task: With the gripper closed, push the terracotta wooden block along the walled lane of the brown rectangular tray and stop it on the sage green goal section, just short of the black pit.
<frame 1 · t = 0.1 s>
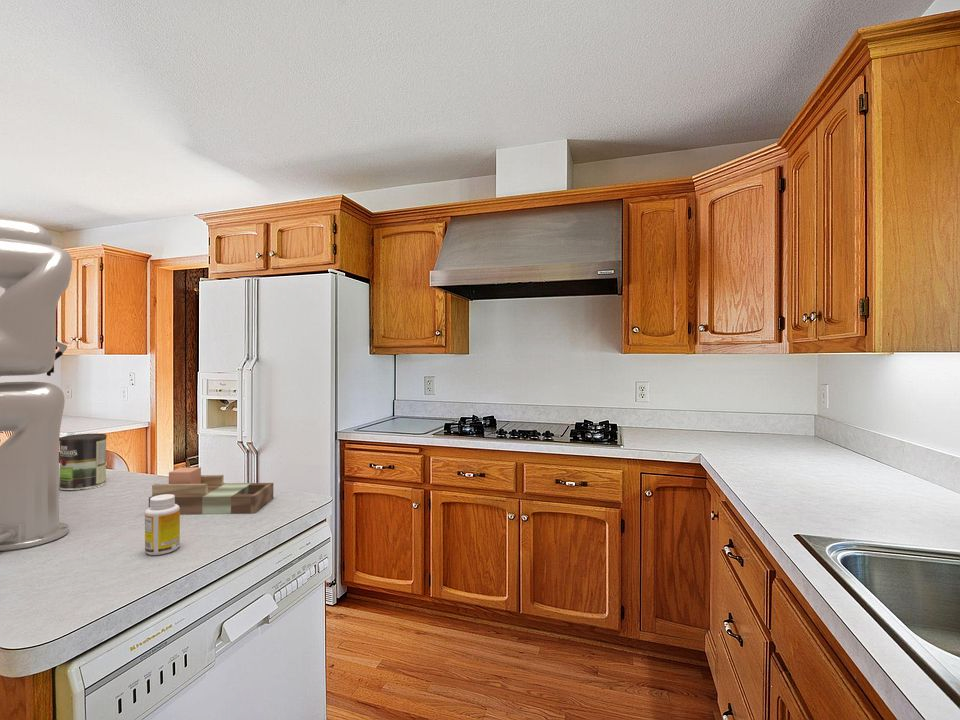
hand: (24, 376, 129), 31 cm above the countertop, tool pointing down, fingers open, 9 cm apart
block: (185, 490, 118), point 4 cm above the countertop, touching brown rectangular tray
brown rectangular tray: (214, 506, 118), on the countertop
coffee can: (83, 486, 135), on the countertop
supplement bottle: (162, 551, 92), on the countertop
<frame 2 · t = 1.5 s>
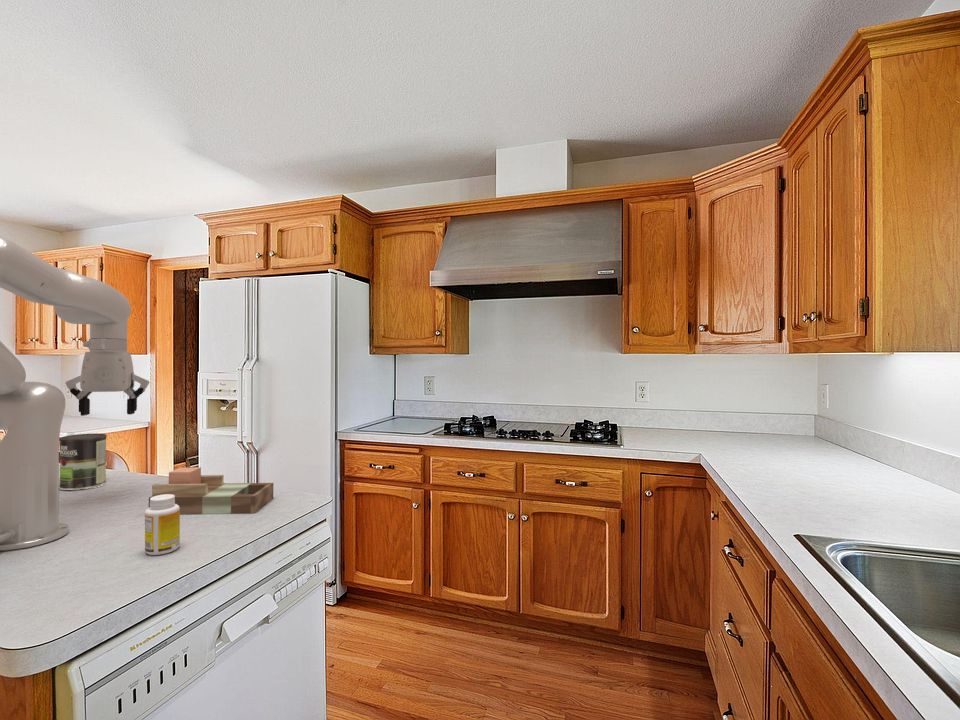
hand: (108, 414, 121), 22 cm above the countertop, tool pointing down, fingers open, 9 cm apart
nothing on the countertop moved.
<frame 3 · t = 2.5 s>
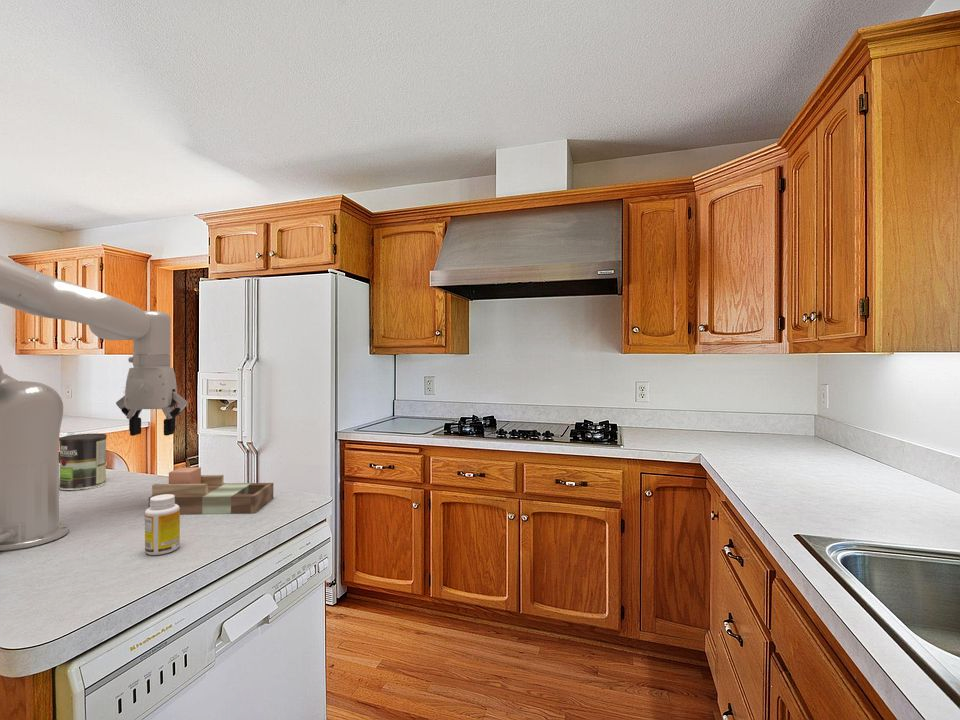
hand: (152, 434, 117), 18 cm above the countertop, tool pointing down, fingers open, 7 cm apart
nothing on the countertop moved.
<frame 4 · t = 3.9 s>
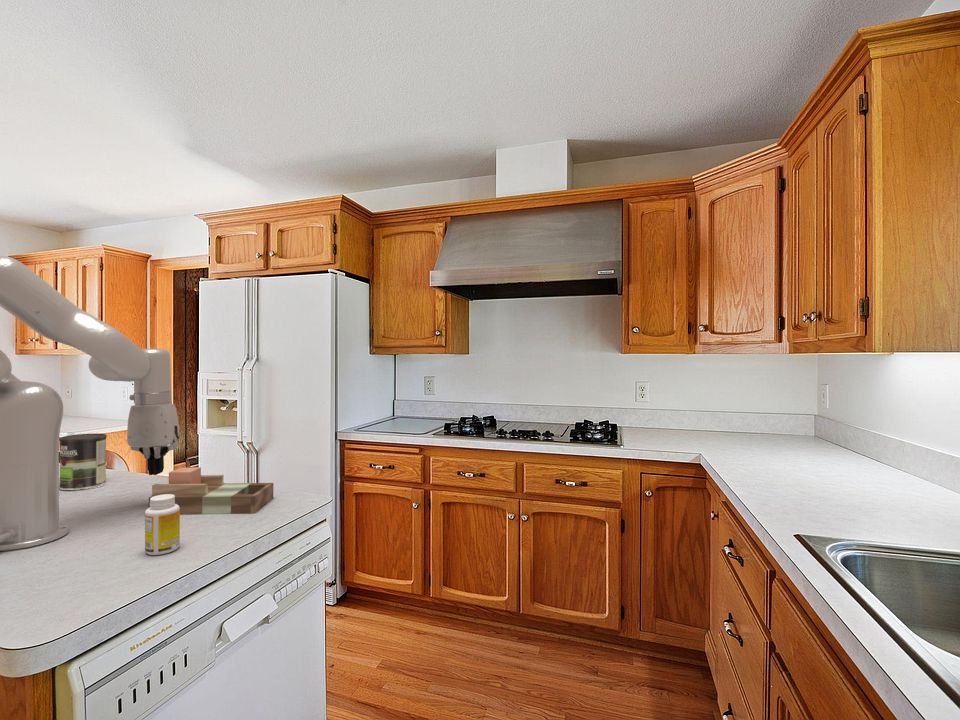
hand: (155, 473, 118), 8 cm above the countertop, tool pointing down, fingers closed
nothing on the countertop moved.
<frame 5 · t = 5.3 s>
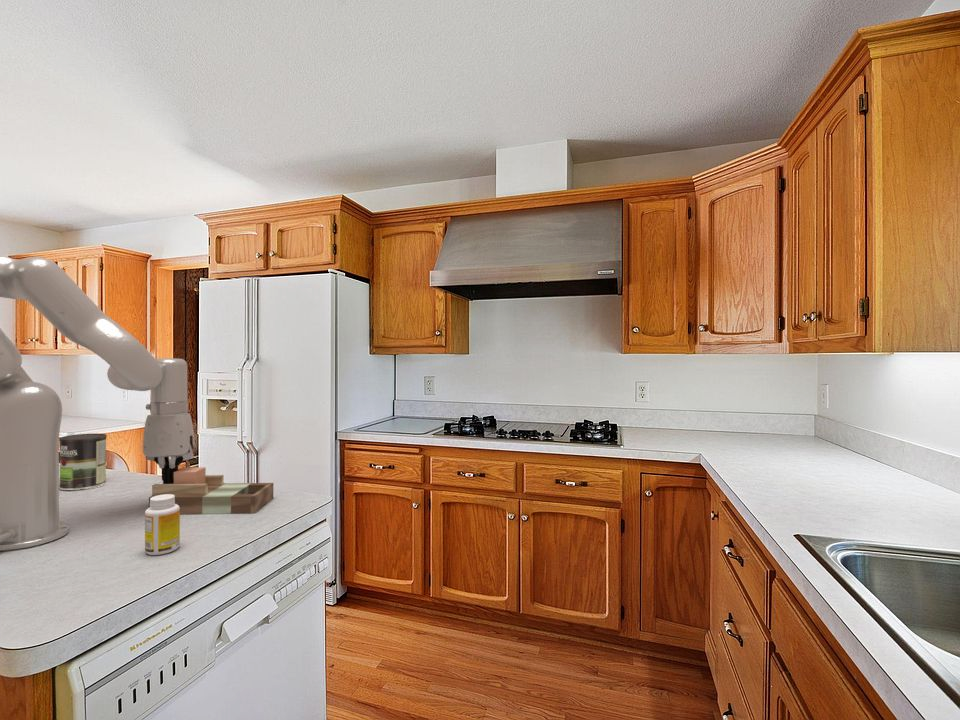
hand: (170, 483, 118), 6 cm above the countertop, tool pointing down, fingers closed
block: (189, 490, 118), point 4 cm above the countertop, touching gripper
everything else where it was.
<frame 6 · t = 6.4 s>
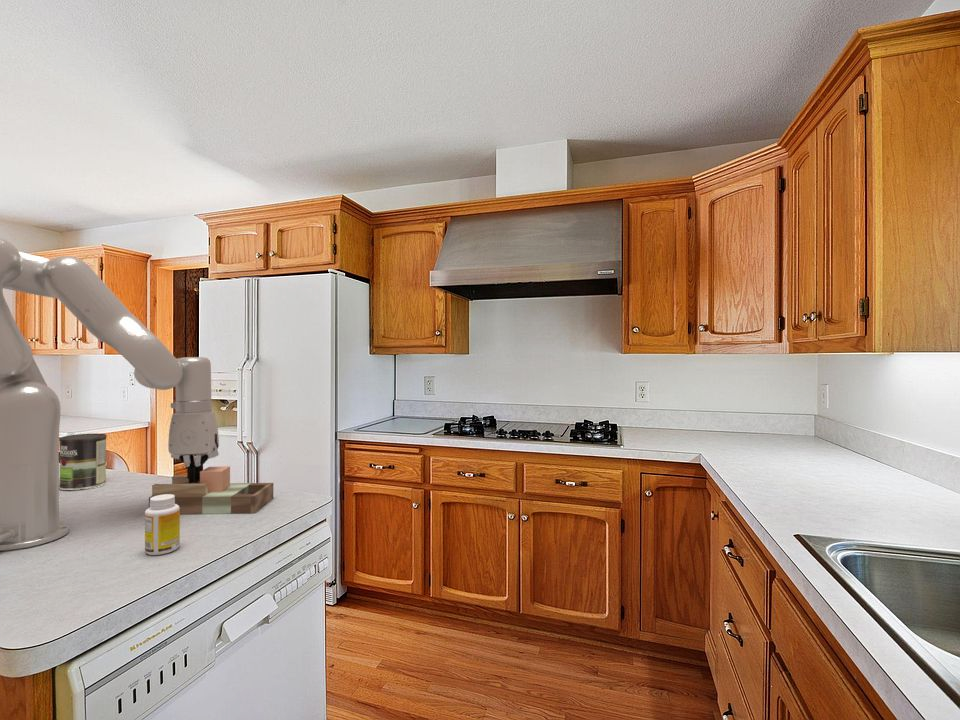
hand: (195, 481, 118), 6 cm above the countertop, tool pointing down, fingers closed
block: (215, 489, 119), point 4 cm above the countertop, touching gripper, brown rectangular tray
everything else where it was.
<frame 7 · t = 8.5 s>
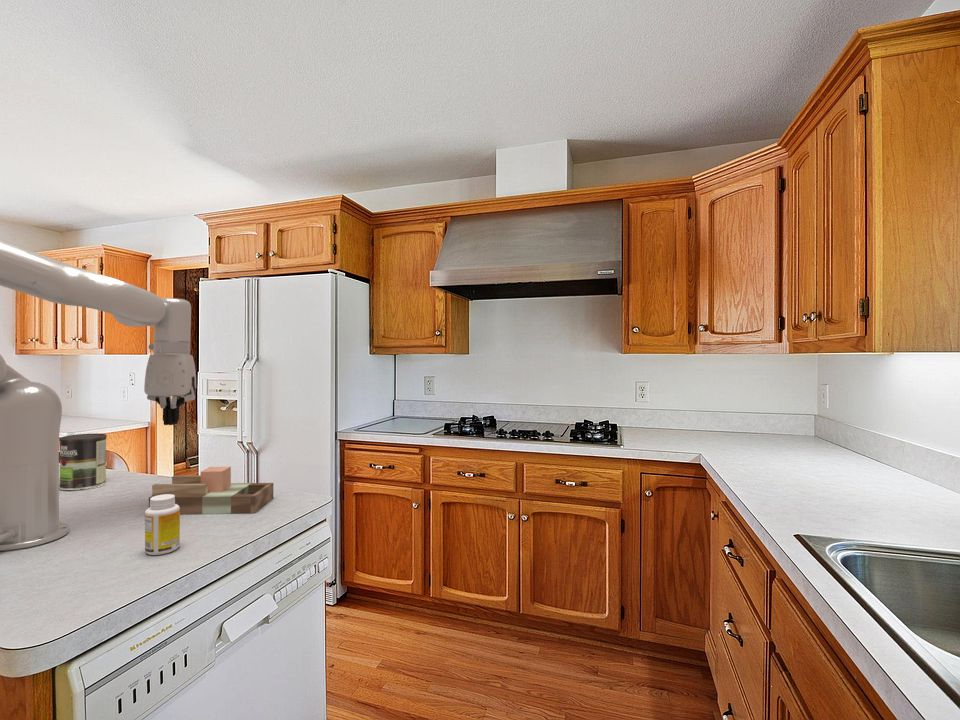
hand: (170, 424, 117), 20 cm above the countertop, tool pointing down, fingers closed
block: (216, 489, 119), point 4 cm above the countertop, touching brown rectangular tray
everything else where it was.
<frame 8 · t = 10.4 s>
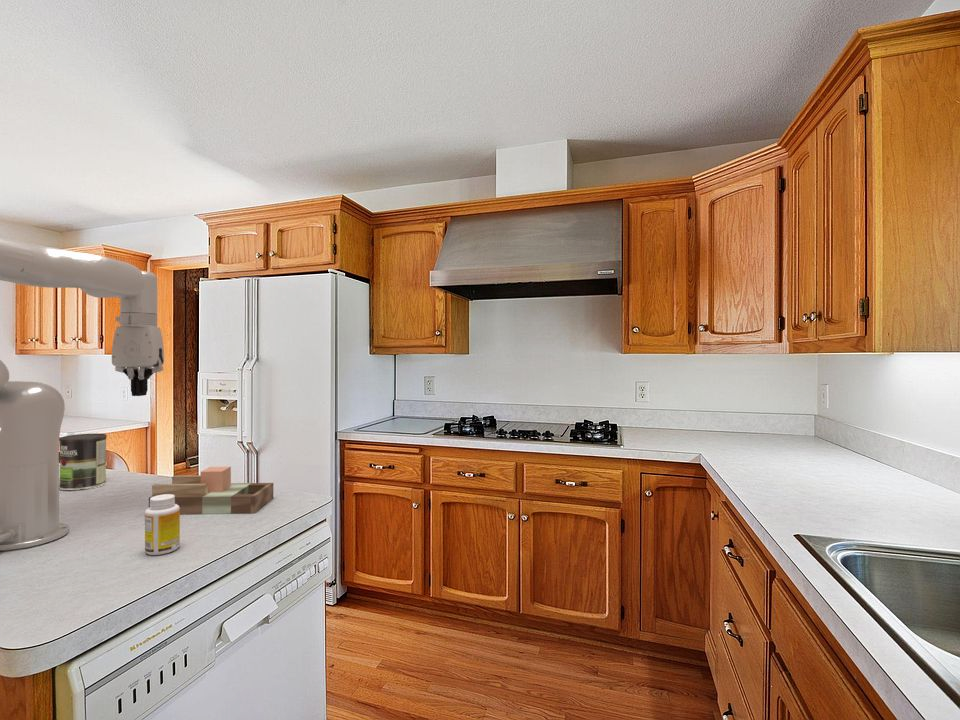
hand: (139, 395, 119), 27 cm above the countertop, tool pointing down, fingers closed
nothing on the countertop moved.
at the end: block 2.6 cm from the target spot on the brown rectangular tray, point 4.0 cm above the brown rectangular tray's base; block tilted 0°; block moved 7.1 cm from its start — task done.
